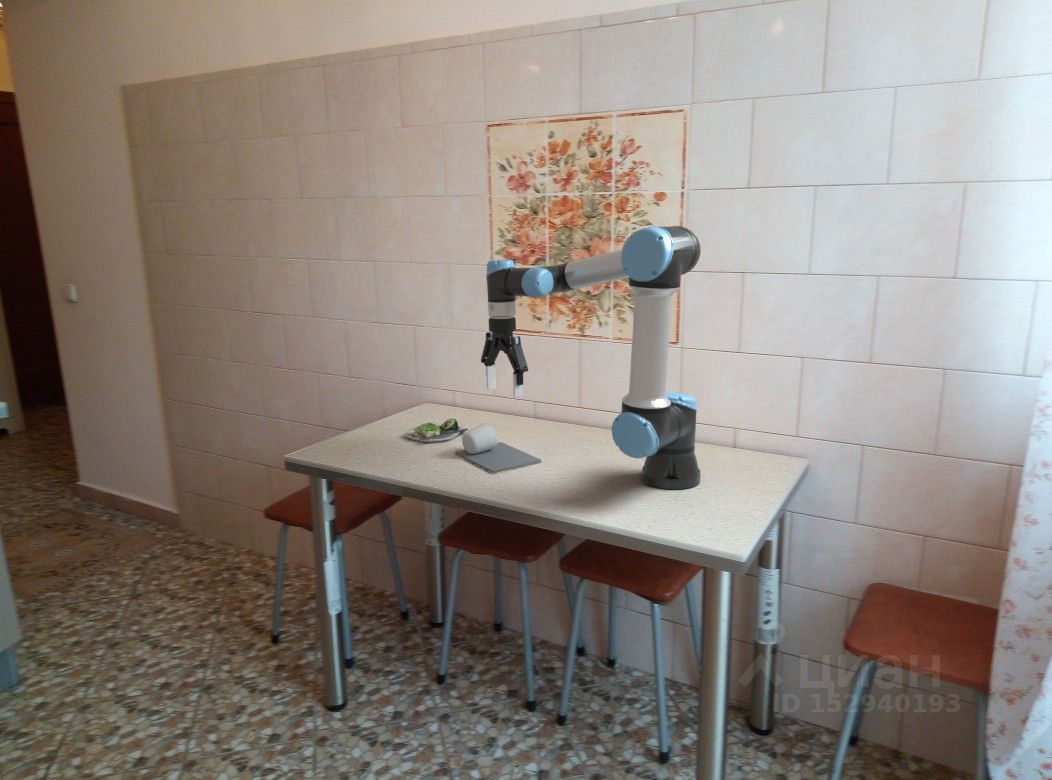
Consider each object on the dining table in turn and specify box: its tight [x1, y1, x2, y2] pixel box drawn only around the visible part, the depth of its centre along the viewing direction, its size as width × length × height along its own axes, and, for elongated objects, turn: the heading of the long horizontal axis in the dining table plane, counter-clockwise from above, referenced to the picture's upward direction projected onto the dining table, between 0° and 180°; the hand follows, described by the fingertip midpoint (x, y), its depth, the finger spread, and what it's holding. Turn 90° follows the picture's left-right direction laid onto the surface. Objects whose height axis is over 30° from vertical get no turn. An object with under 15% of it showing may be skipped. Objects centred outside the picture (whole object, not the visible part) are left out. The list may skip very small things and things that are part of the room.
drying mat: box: [454, 441, 542, 474], centre depth 210 cm, size 21×16×1 cm
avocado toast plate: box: [404, 418, 469, 444], centre depth 232 cm, size 19×18×5 cm
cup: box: [461, 422, 498, 454], centre depth 214 cm, size 11×8×8 cm
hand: (504, 392), depth 206 cm, fingers open, 13 cm apart
